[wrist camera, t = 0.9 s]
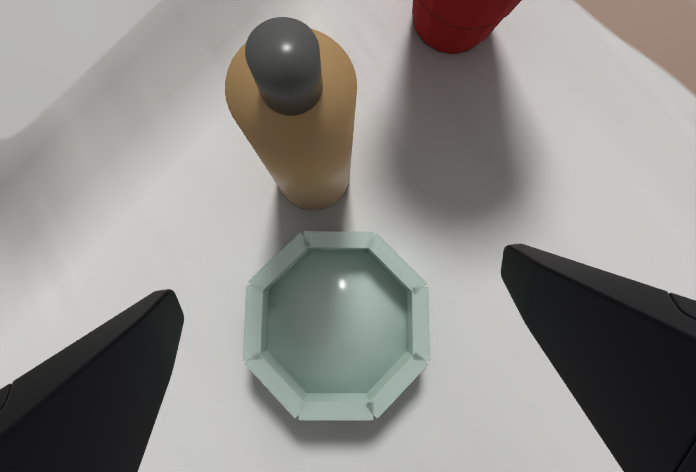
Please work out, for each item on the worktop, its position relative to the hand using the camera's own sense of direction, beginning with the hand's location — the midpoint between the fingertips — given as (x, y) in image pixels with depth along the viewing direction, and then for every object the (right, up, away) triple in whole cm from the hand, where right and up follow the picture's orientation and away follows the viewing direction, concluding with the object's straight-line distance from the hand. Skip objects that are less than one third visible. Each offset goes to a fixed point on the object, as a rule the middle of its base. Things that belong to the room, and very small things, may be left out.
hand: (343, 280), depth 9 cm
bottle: (-2, +5, +15) cm, 16 cm away
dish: (-1, -4, +13) cm, 14 cm away
